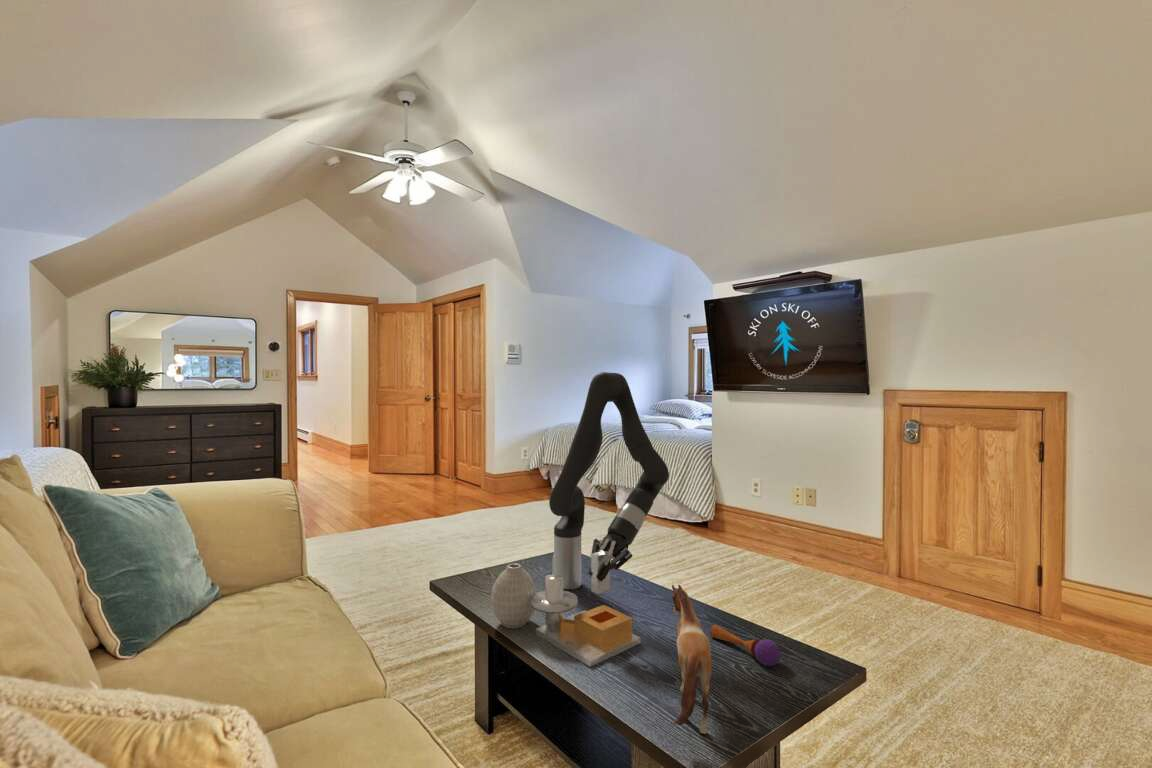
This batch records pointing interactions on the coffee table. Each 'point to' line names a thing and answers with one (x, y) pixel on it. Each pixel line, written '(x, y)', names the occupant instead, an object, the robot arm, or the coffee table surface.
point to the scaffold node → (581, 625)
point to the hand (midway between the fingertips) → (594, 577)
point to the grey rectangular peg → (596, 565)
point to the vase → (513, 597)
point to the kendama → (751, 646)
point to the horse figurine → (691, 657)
